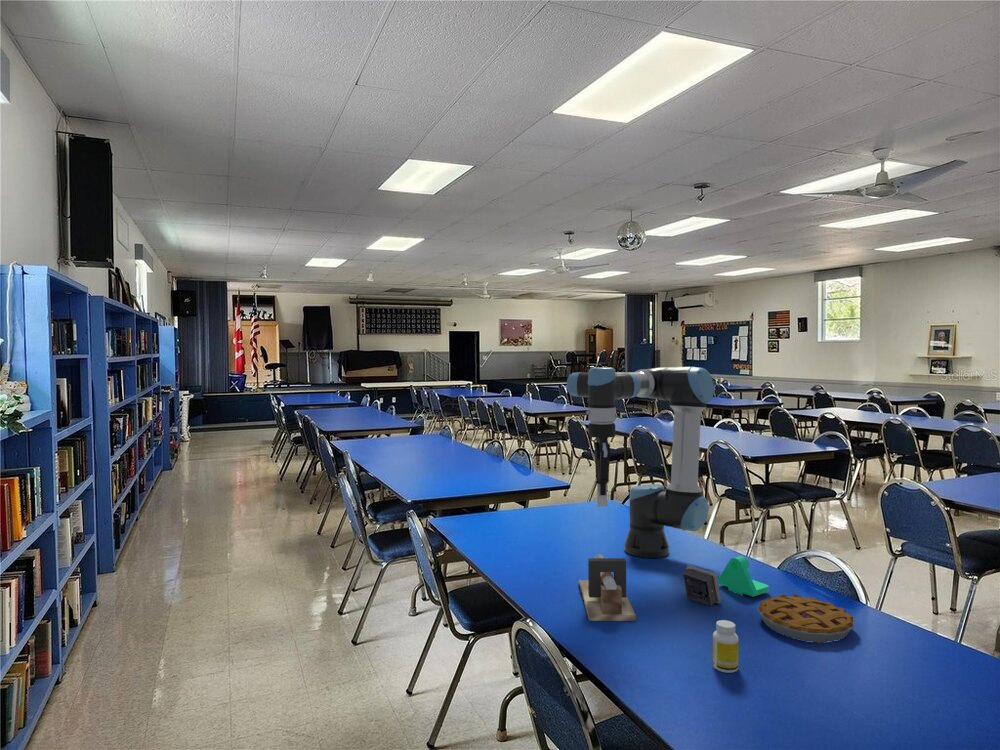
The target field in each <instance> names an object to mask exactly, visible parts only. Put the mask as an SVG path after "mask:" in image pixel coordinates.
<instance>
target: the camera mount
mask: <svg viewBox="0 0 1000 750" xmlns="http://www.w3.org/2000/svg"><path fill="white" fill-rule="evenodd" d="M749 568H750V563H749V561H748V559H747V558H746V557H744V556H743V555H739V556H736V557H732V558H730V559H729V561H728V562H727V564H726V565H725V567H724V569H723V570H722V571H721V573H720V575H719V576H718V577H717V581H718V585H722V586H724V587H727V589H728V590H727V591H729V590H730V591H729V592H731V591H733V592H732V593H734V592H736V593H738V594H737V595H739V594H741V595H740V596H742V595H743V594H746V595H748V596H750V597H756V596H759V595H762V594H766V593H768V592H769V591H770V590H769V589H770V588H769V585H768V584H767V583H763V582H760V581H758V580H755V579H752V577H751V575H750V573H749ZM736 593H735V594H736ZM743 596H744V595H743Z"/></svg>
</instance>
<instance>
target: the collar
mask: <svg viewBox="0 0 1000 750" xmlns="http://www.w3.org/2000/svg"><path fill="white" fill-rule="evenodd" d="M587 561H588V562H587V564H588V567H587V572H588V573H587V578H588V579H587V580H588V595H589V598H601V585H604V584H603V583H600V572H611V573H613V577H614V581H615V583H616V585H620V587H621V589H622V598H626V596H627V559H626V557H623V558H622V557H621V558H620V557H618V558H617V557H616V558H614V557H612V558H611V557H610V558H609V557H608V558H606V557H604V558H595V557H594V558H593V557H592V558H591V557H590V558H589V557H588V558H587Z"/></svg>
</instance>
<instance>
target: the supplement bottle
mask: <svg viewBox="0 0 1000 750" xmlns="http://www.w3.org/2000/svg"><path fill="white" fill-rule="evenodd" d="M715 623H716V624H715V628H716V629H715V631H713V633H712V666H713V668H714V669H716V671H719V672H722V673H726V674H727V673H728V674H730V673H735V672H738V670H739V657H740V656H739V650H740V649H739V645H740V644H739V642H740V641H739V636H738V634H737V633H736V631H737V629H736V624H735V623H734V622H733V621H730V620H726V619H721V620H717V621H716V622H715Z"/></svg>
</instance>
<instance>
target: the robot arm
mask: <svg viewBox="0 0 1000 750" xmlns="http://www.w3.org/2000/svg"><path fill="white" fill-rule="evenodd" d="M566 390H567V392H568V394H569V395H571V396H572V397H578V398H588V410H586V415H587V416H588V421H589V423H588V426H587V427H588V428H587V432H588V436H589V437H590V438H595V439H596V440H595V442H593V448H594V463H595V464H594V467H595V468H594V469H595V484H596V506H597V507H600V508H601V507H608V483H609V482H610V458H611V444H610V443H609V441H608V440H609V438H613V437H616V423H614V422H616V416H617V415H616V414H617V413H616V411H617V410H616V400H629V399H632V398H635V397H638V398H649V399H654V400H660V401H669V407H670V408H671V409H672V411H673V429H672V430H673V431H672V449H671V450H672V451H671V452H672V454H671V473H670V474H671V475H670V483H669V484H668V485H667V486H666V487H665V486H664V485H662V484H658V483H657V484H655V483H654V484H653V483H651V484H641V485H636V486H633V487H631V489H630V491H629V499H628V501H629V529H628V533H627V535H626V538H625V542H624V551H625V553H627V554H628V555H631V556H635V557H638V558H643V559H645V558H646V559H648V558H649V559H654V558H656V559H657V558H663V557H666V556H669V554H670V545H669V542H668V538H667V536H666V532H665V527H669V528H674V529H677V530H682V531H689V532H697V531H699V530H700V529H701V528H702V527H703V526H704V525H705V522H706V521H707V519H708V516H709V515H708V514H709V509H710V505H709V501H708V499H707V498H706V497H704V496H703V490H702V488H701V486H699V484H698V482H699V464H700V463H699V461H700V460H699V459H700V443H701V441H700V438H701V418H702V412H704V410H706V408H707V404H708V403H710V402H711V401H712V400H713V396H714V393H715V385H714V380H713V377H712V375H711V374H710V371H708V370H707V369H705V368H704V367H697V366H660V367H653V368H647V369H646V368H645V369H644V368H643V369H638V370H636V371H633V372H625V371H623V372H619V371H617V372H616V370H615V368H614V367H591V368H589V369H588V372H582V371H579V372H572V373H571V374H569V376H568V377H567V380H566Z"/></svg>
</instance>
